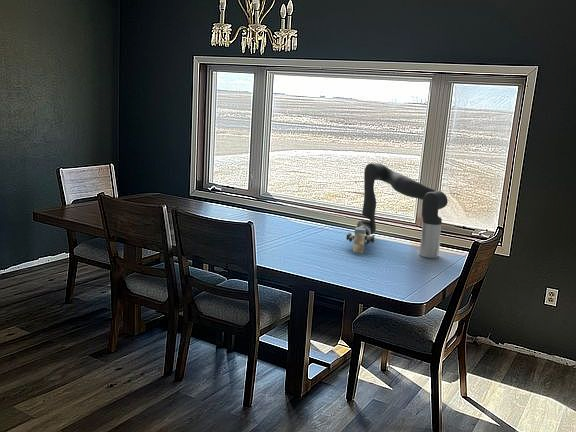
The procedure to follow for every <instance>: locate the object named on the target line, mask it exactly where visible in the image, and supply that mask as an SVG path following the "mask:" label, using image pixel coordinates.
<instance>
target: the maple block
mask: <svg viewBox="0 0 576 432" xmlns="http://www.w3.org/2000/svg"><path fill="white" fill-rule="evenodd" d="M365 233H366V228H359V227H357V226H356V227H355V228H354V233H353V234H354V240H353V245H352V247H353V248H352V253H357V254H363V253H365V244H366V242H365Z"/></svg>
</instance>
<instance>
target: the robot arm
mask: <svg viewBox="0 0 576 432" xmlns="http://www.w3.org/2000/svg"><path fill="white" fill-rule="evenodd" d="M363 173H364V174H363V175H364V176H363V179H364V181H363V182H364V185H363V187H364V189H363V190H364V191H363V192H364V193H363V194H364V197H363V205H362V211H361V215H362V217H365V218H368V220H370V221H368V220H363V219H362V220H359V221H358V222H357V223H356V227H359V228H366V233H365V243H366V244H370V243H372V244H373V243H375V237H376V236H375V232H376V230H377V226H376V218H375V217H376V209H377V197H376V194H375V190H374V188H375V187H374V186H375V182H376V181H381V182H384V183H385V184H386V183H387V184H388V185H390V187H391V188H392V189H393V190H394V191H396V192H397V193H399V194H401V195H404V196H406V197H409V198H413V199H414V198H415V199H418V200H422V207H421V217H422V226H421V236H420V245H419V256H421V257H422V258H423V257H424V258H426V259H427V258H429V259H438V257H439V255H440V248H441V230H442V221H443V219H442V217H440V216H439V215H438V214H439V213H438V211H439V210H441V209H444V208H445V207H446V206H447V205H448V200H449V199H448V196H447V195H446V194H445V193H444V192H442V191H441V190H438V189H434V188H432V187H429V186H427V185H424V184H422V183H421V182H419V181H416V180H415V179H412V178H411V177H408V176H406V175H404V174H402V173H399V172H397V171H395V170H392V169H390V168H389V167H388V166H387V165H384V164H383V163H377V162H374V163H373V162H371V163H367V164H366V166H365V167H364V172H363ZM354 234H355V233H351V232H348V233H347V234H346V240H347V241H349V243H352V242H353V241H354Z"/></svg>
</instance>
